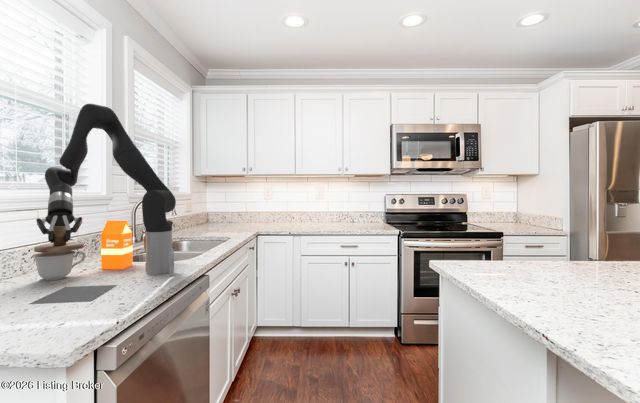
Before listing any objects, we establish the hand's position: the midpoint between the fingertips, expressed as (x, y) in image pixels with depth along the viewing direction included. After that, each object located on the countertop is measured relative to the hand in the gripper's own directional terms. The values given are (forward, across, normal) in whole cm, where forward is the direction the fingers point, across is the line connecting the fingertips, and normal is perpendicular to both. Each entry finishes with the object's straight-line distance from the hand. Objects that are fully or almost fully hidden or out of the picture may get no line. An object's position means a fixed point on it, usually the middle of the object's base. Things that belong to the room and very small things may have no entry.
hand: (59, 240), depth 114 cm
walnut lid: (+1, 0, +4) cm, 4 cm away
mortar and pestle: (+5, +34, +16) cm, 38 cm away
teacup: (+9, 0, +12) cm, 15 cm away
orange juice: (+1, +18, +20) cm, 27 cm away
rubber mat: (+28, +5, -7) cm, 29 cm away
